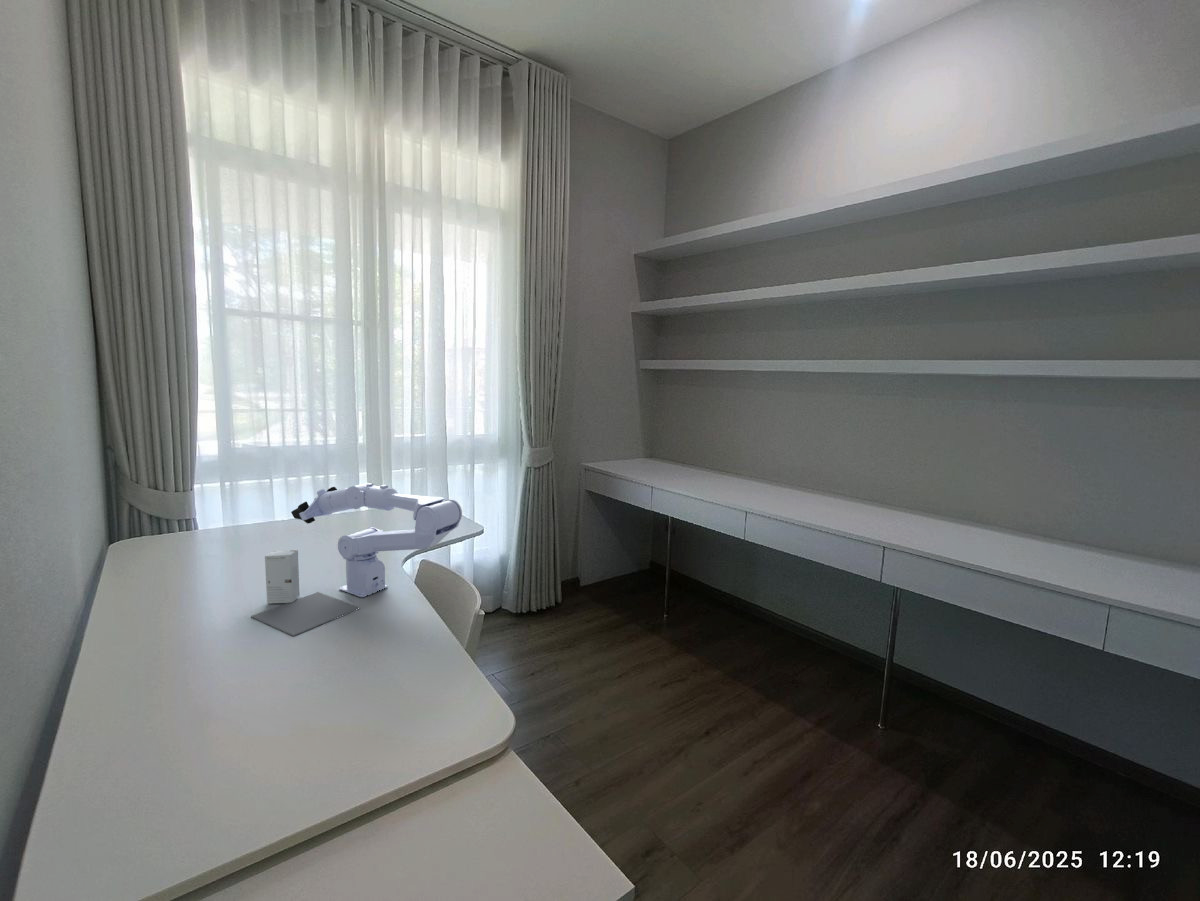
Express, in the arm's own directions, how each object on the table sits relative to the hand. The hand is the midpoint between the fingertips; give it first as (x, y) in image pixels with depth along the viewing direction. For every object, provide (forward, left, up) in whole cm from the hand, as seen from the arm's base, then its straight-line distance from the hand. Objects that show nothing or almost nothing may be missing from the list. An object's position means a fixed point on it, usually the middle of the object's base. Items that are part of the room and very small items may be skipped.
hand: (305, 508), depth 140 cm
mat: (-22, +14, -19) cm, 33 cm away
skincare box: (-12, +13, -19) cm, 26 cm away
